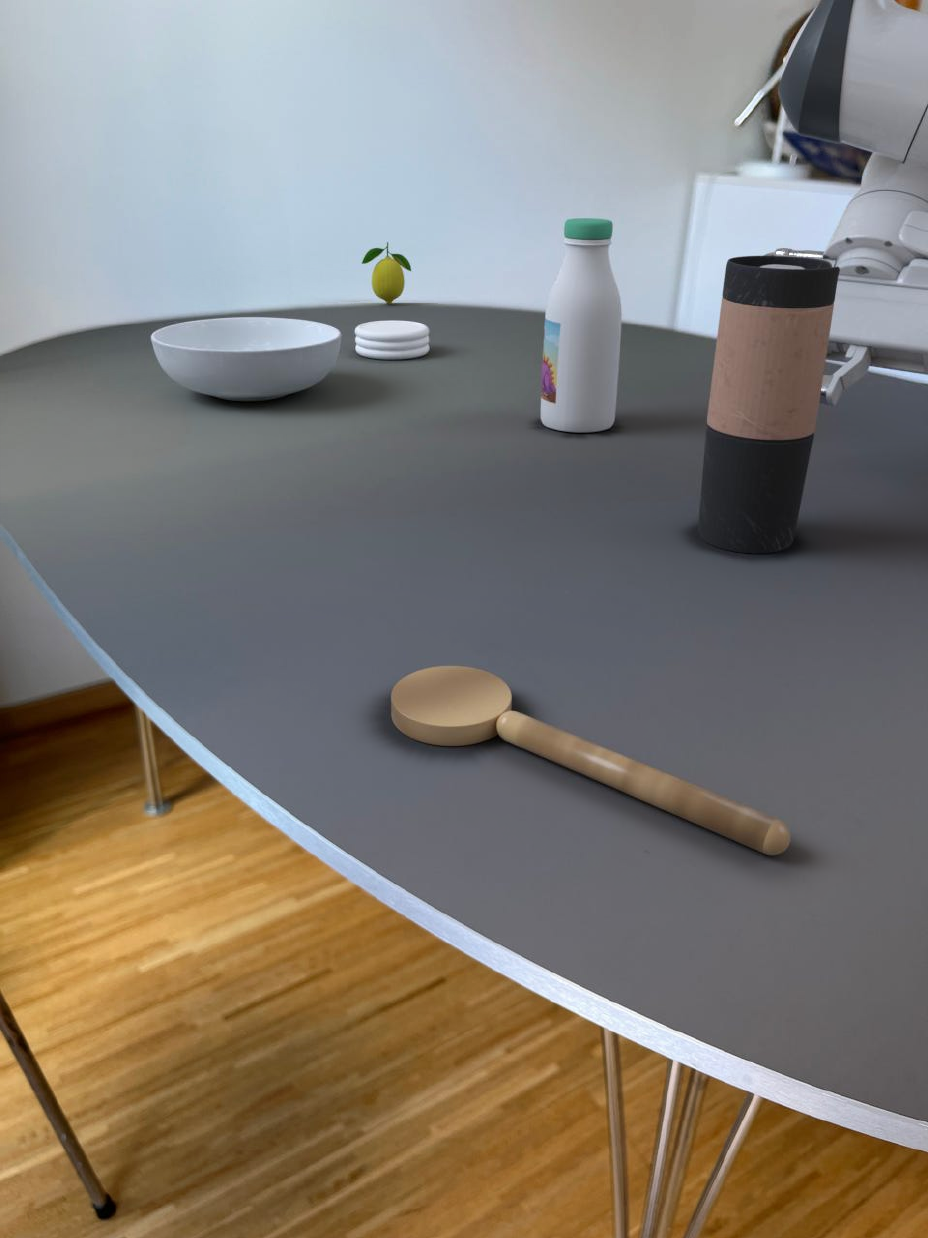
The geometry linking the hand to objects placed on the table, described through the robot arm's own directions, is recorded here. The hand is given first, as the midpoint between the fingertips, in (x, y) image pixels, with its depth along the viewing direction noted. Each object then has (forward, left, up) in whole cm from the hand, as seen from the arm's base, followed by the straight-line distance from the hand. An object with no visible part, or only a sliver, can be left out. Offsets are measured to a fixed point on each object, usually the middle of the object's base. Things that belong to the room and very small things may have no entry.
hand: (815, 399), depth 82 cm
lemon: (+95, -52, -9) cm, 108 cm away
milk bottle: (+28, -9, -9) cm, 31 cm away
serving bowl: (+64, +4, -9) cm, 65 cm away
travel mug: (0, +10, -9) cm, 13 cm away
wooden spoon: (-6, +44, -9) cm, 45 cm away
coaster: (+67, -23, -9) cm, 71 cm away
